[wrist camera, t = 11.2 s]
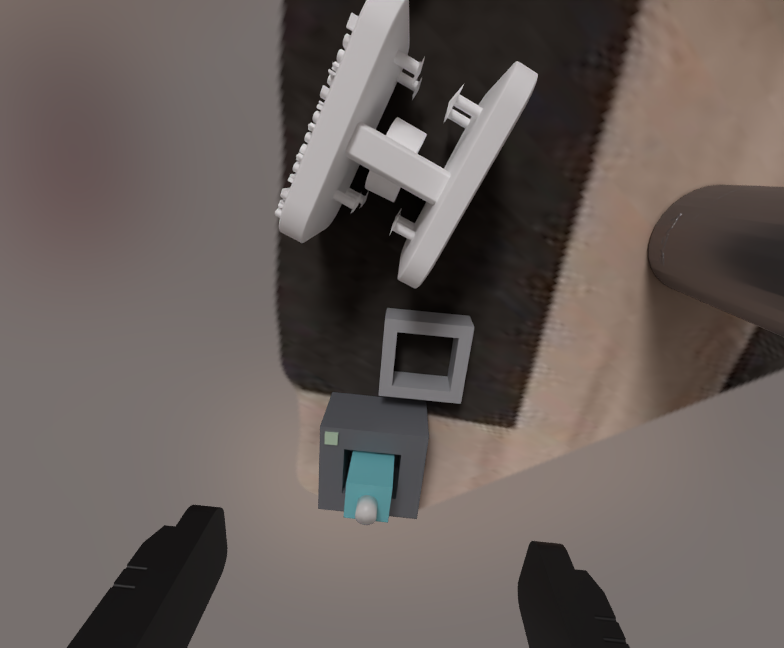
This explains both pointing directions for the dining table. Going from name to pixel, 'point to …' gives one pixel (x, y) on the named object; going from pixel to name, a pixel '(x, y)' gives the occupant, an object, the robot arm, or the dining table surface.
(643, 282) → the dining table surface
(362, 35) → the cable organizer
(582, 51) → the dining table surface
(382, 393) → the grey square hollow frame
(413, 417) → the port
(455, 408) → the dining table surface
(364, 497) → the plug
